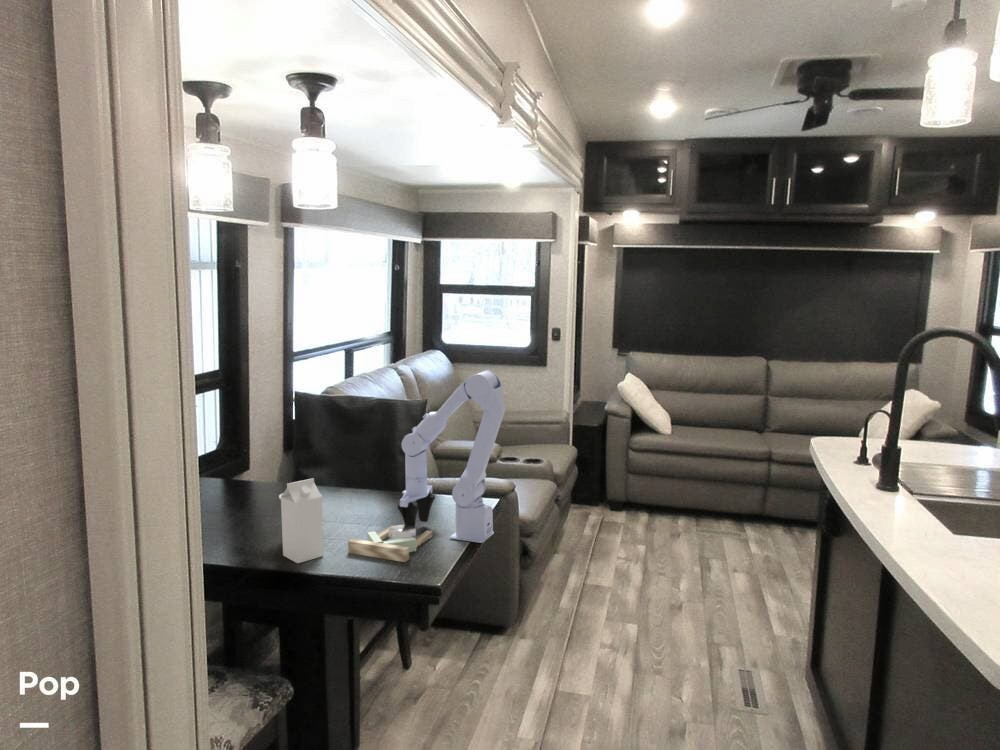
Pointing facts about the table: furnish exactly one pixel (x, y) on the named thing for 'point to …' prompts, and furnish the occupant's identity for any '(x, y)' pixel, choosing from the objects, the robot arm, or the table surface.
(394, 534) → the aluminium cover
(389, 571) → the table surface
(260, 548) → the table surface
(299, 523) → the milk carton
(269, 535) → the table surface
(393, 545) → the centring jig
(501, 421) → the robot arm
